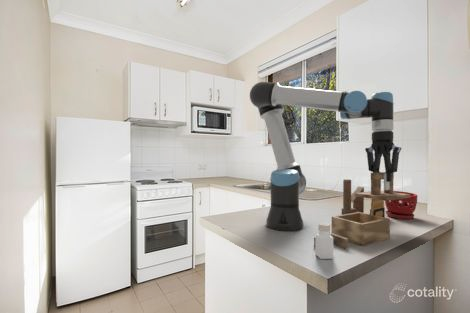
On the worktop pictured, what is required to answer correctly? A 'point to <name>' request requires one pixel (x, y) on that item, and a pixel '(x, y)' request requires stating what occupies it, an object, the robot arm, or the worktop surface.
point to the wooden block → (352, 199)
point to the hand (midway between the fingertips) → (382, 189)
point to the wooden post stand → (376, 189)
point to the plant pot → (402, 207)
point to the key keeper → (338, 241)
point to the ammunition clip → (377, 208)
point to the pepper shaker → (324, 242)
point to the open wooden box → (361, 227)
